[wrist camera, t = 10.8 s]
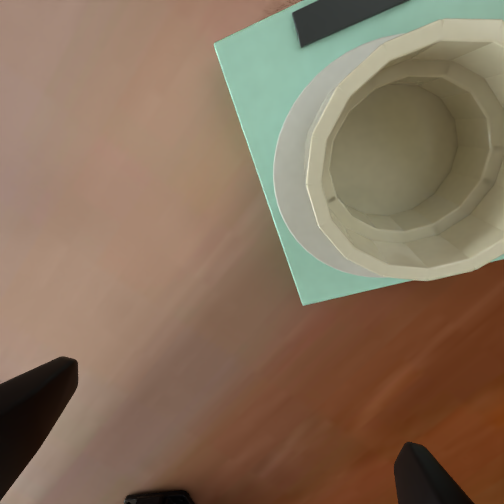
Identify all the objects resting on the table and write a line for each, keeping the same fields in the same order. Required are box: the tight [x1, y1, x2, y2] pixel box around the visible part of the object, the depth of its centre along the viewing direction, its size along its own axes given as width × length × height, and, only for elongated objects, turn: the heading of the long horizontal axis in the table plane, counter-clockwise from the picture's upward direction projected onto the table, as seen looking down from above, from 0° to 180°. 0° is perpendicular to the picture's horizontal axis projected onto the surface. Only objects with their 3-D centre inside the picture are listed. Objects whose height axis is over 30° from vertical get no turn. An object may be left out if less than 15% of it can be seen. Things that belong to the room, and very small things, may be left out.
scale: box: [214, 0, 504, 305], centre depth 14 cm, size 13×11×3 cm
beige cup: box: [303, 18, 504, 281], centre depth 11 cm, size 7×7×5 cm
